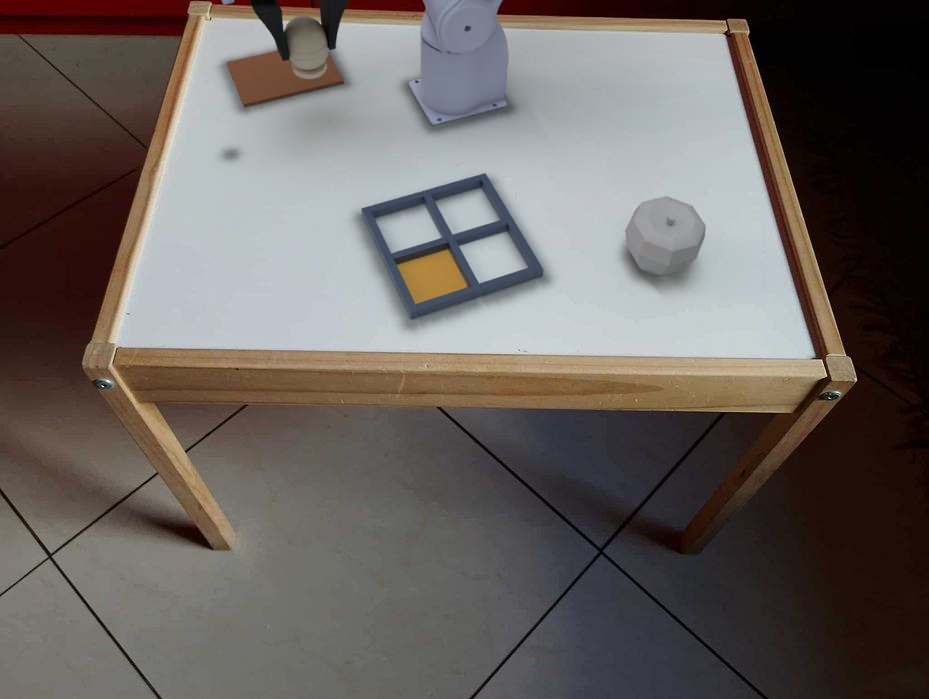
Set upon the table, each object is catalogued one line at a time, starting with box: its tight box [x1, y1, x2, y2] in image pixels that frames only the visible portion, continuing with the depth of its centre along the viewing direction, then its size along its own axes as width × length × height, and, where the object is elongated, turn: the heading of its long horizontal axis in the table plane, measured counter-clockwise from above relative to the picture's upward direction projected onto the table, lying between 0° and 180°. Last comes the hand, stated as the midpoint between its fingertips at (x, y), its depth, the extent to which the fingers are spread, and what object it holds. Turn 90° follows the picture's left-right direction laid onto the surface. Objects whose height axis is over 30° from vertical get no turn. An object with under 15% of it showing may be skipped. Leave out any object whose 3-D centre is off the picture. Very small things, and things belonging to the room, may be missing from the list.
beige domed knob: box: [284, 15, 329, 79], centre depth 77 cm, size 4×4×6 cm
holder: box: [360, 172, 544, 320], centre depth 76 cm, size 14×14×2 cm
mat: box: [226, 50, 344, 107], centre depth 90 cm, size 12×8×1 cm, turn 113°
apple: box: [624, 195, 707, 277], centre depth 74 cm, size 8×8×7 cm
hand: (306, 49), depth 78 cm, fingers closed on beige domed knob, 4 cm apart
